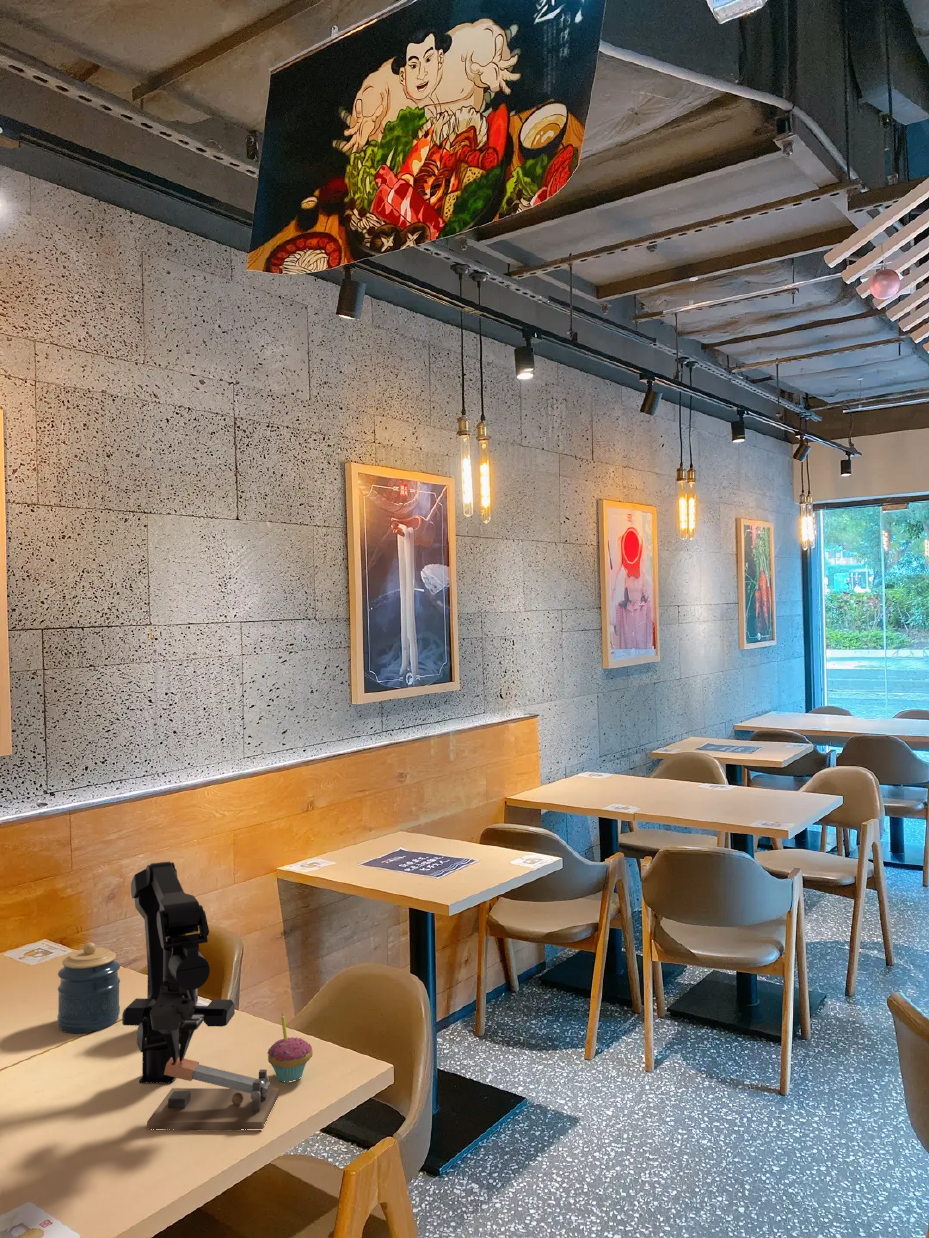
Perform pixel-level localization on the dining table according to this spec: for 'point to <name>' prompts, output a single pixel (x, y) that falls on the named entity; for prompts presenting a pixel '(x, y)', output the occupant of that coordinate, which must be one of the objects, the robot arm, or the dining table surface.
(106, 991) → the canister
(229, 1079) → the lever
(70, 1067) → the dining table surface
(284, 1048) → the cupcake
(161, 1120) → the base
